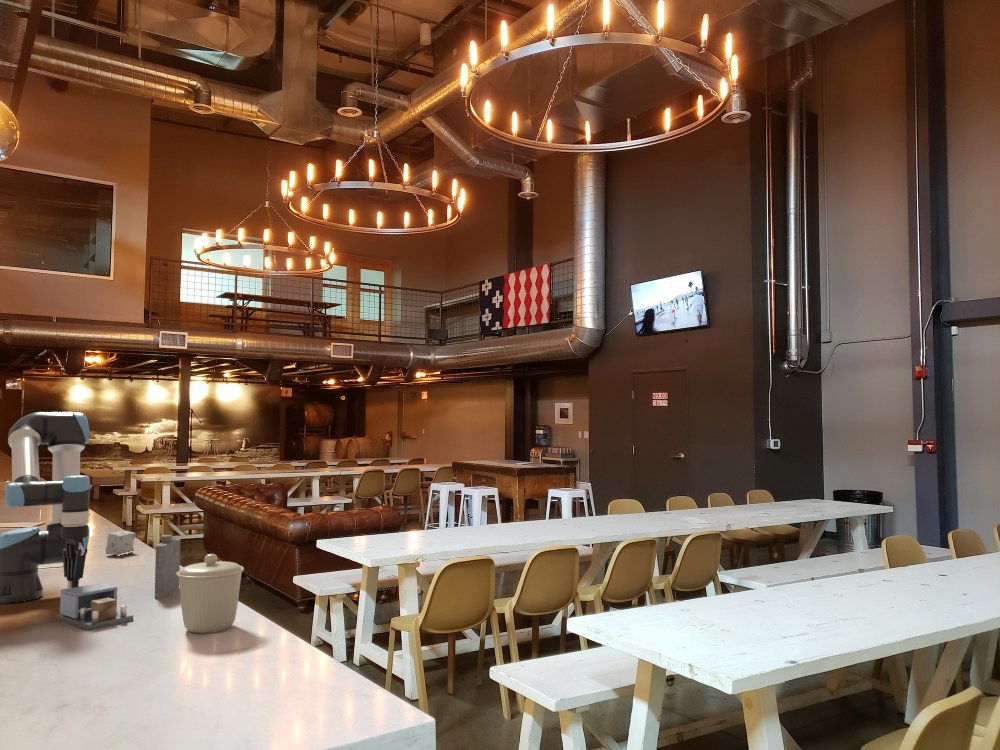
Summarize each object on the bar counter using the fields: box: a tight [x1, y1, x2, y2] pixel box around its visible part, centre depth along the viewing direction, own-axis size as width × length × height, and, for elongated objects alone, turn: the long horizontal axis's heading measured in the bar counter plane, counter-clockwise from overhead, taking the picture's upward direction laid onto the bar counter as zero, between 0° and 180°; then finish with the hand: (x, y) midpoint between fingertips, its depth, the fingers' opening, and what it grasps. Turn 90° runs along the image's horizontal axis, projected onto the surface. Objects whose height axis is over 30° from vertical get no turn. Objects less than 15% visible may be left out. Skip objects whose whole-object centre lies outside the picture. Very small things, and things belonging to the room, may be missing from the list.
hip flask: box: [154, 534, 181, 599], centre depth 254 cm, size 16×4×20 cm, turn 3°
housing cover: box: [59, 582, 118, 618], centre depth 221 cm, size 10×12×7 cm
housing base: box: [56, 605, 134, 631], centre depth 218 cm, size 20×13×4 cm, turn 53°
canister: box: [176, 553, 245, 634], centre depth 208 cm, size 18×18×21 cm
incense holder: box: [105, 530, 137, 556], centre depth 331 cm, size 10×8×10 cm
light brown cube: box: [91, 598, 116, 621], centre depth 215 cm, size 5×5×5 cm
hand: (72, 601), depth 228 cm, fingers closed
